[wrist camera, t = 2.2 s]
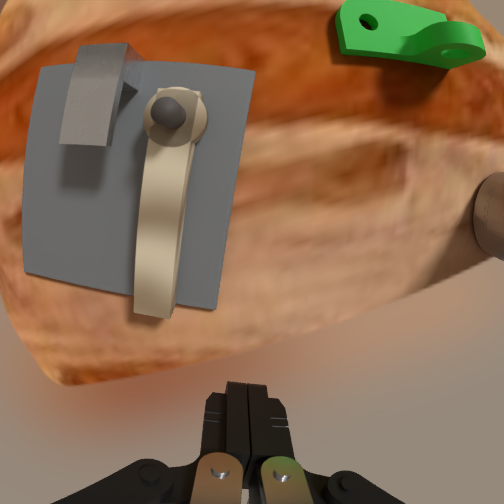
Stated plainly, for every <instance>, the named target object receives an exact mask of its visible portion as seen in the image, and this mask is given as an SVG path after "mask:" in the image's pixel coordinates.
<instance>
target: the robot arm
mask: <svg viewBox="0 0 504 504" xmlns="http://www.w3.org/2000/svg"><path fill="white" fill-rule="evenodd" d="M473 223H474V232H475V235H476V239H477V241H478V243H479V245H480V247H481V248H482V249H483V251H485V252H486V253H488V254H490V255H492V256H494V257H496V258H498V259H500V260H503V261H504V172H497V173H494V174H492V175H490V176H489V177H488V178H487V179H486V180H485V181H484V183H483V184H482V186H481V188H480V190H479V192H478V195H477V198H476V202H475V207H474V218H473ZM242 489H249V499H248V502H247V504H405V503H403V502H402V501H400V500H398V499H397V498H395V497H393V496H392V495H390V494H389V493H387V492H385V491H384V490H382V489H381V488H379V487H377V486H376V485H374V484H373V483H371V482H370V481H368V480H367V479H365V478H364V477H362V476H361V475H359V474H357V473H355V472H352V471H339V472H336V473H335V474H333V475H332V476H331V477H327V476H322V475H317V474H313V473H310V472H308V471H306V470H304V469H303V468H302V467H301V465H300V464H299V463H298V462H297V461H296V460H295V457H294V452H293V447H292V443H291V436H290V431H289V428H288V421H287V415H286V410H285V407H284V406H283V405H282V403H281V402H280V400H279V399H275V398H268V393H267V387H266V385H259V384H249V383H247V385H246V383H238V382H230V381H227V385H226V390H225V394H222V393H215V392H213V393H212V394H211V395H210V396H209V398H208V399H207V400H206V406H205V414H204V422H203V431H202V442H201V451H200V456H199V457H198V458H197V459H196V461H194V462H193V463H191V464H189V465H186V466H181V467H170V468H169V467H168V466H167V465H165V464H164V463H162V462H160V461H158V460H154V459H141V460H138V461H136V462H134V463H132V464H130V465H128V466H126V467H125V468H123V469H121V470H119V471H117V472H115V473H113V474H112V475H110V476H108V477H106V478H104V479H102V480H100V481H98V482H96V483H94V484H92V485H90V486H88V487H86V488H84V489H82V490H80V491H78V492H76V493H74V494H72V495H69V496H67V497H65V498H63V499H60V500H58V501H56V502H54V503H51V504H241V494H242Z"/></svg>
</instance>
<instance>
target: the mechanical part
mask: <svg viewBox="0 0 504 504" xmlns="http://www.w3.org/2000/svg"><path fill="white" fill-rule="evenodd" d="M359 20H363V21H365V22H367V23H368V24H369V25H370V26H371V29H372V31H371V30H367V29H365V28H364V27H363V26H362V25H361V24H360V21H359ZM335 25H336V30H337V35H338V41H339V46H340V52H341V54H343V55H358V56H369V57H379V58H387V59H395V60H402V61H409V62H415V63H421V64H426V65H431V66H436V67H441V68H446V69H452V68H455V67H458V66H461V65H464V64H467V63H470V62H473V61H477V60H480V59H482V58H484V57H485V56H486V51H485V47H484V43H483V40H482V36H481V33H480V30H479V29H478V28H477V27H475V26H473V25H471V24H468V23H464V22H457V21H447V19H446V16H445V14H442V13H439V12H436V11H432V10H429V9H425V8H421V7H418V6H414V5H409V4H405V3H401V2H396V1H391V0H346V1H345V2H344V3H343V5H342V6H341V7H340V9H339V10H338V12H337V14H336V17H335Z"/></svg>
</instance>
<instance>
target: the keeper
mask: <svg viewBox="0 0 504 504" xmlns="http://www.w3.org/2000/svg"><path fill="white" fill-rule="evenodd" d="M144 65H145V60H144V59H143V58H142V57H141V56H140V55H139V54H138V53H137V52H136V51H135V50H134V49H133V48H132V47H131V46H130V44H129V43H111V44H96V45H84V46H79V50H78V53H77V57H76V61H75V64H74V68H73V72H72V76H71V80H70V85H69V89H68V94H67V99H66V104H65V109H64V114H63V120H62V126H61V133H60V139H59V144H75V145H95V146H111V147H112V141H113V134H114V128H115V122H116V117H117V111H118V106H119V101H120V96H121V92H122V91H139V87H140V82H141V78H142V73H143V69H144Z"/></svg>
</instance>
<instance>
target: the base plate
mask: <svg viewBox="0 0 504 504" xmlns="http://www.w3.org/2000/svg"><path fill="white" fill-rule="evenodd" d="M74 64H75V63H73V64H62V65H54V66H46V67H41V71H40V75H39V79H38V83H37V87H36V92H35V97H34V101H33V107H32V112H31V118H30V124H29V130H28V138H27V145H26V154H25V164H24V177H23V196H22V244H23V263H24V272H28V273H32V274H36V275H40V276H44V277H48V278H52V279H57V280H61V281H65V282H69V283H74V284H78V285H83V286H87V287H92V288H97V289H101V290H106V291H111V292H116V293H121V294H126V295H131V296H134V280H135V259H136V243H137V230H138V218H139V208H140V198H141V189H142V181H143V173H144V166H145V159H146V152H147V145H148V139H149V137H148V135H147V133H146V131H145V129H144V125H143V114H144V110H145V108H146V105H147V104H148V102H149V101H150V99H151V98H152V97H153V96H154V95H155V94H157V91H158V88H170V87H184V88H187V89H189V90H191V91H200V93H201V94H202V96H203V98H204V99H203V104H204V106H205V107H206V109H207V112H208V126H207V129H206V132H205V134H204V135H203V137H202V138H201V139H200V140H199V141H198V142H197V143H195V149H194V155H193V161H192V167H191V174H190V180H189V187H188V194H187V201H186V209H185V217H184V225H183V233H182V241H181V250H180V260H179V269H178V280H177V291H176V304H181V305H188V306H194V307H200V308H206V309H213V310H216V307H217V300H218V293H219V287H220V280H221V273H222V266H223V260H224V253H225V246H226V240H227V234H228V227H229V221H230V215H231V208H232V202H233V196H234V190H235V184H236V178H237V172H238V166H239V161H240V155H241V149H242V143H243V138H244V132H245V126H246V121H247V115H248V110H249V105H250V99H251V94H252V89H253V83H254V78H255V73H256V71H252V70H245V69H239V68H231V67H224V66H215V65H206V64H195V63H182V62H163V61H145V65H144V69H143V73H142V78H141V82H140V87H139V91H122V92H121V96H120V101H119V106H118V111H117V117H116V122H115V128H114V134H113V141H112V147H111V146H95V145H75V144H59V139H60V133H61V126H62V120H63V114H64V109H65V104H66V99H67V94H68V89H69V85H70V80H71V76H72V72H73V68H74Z"/></svg>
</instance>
